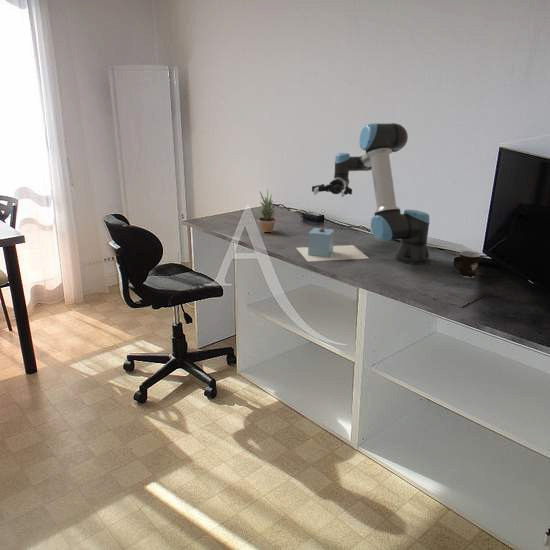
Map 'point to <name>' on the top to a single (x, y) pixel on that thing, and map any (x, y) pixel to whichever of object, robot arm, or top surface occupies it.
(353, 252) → the mat
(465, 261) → the coffee mug
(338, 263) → the top surface
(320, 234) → the box cover
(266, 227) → the potted plant
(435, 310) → the top surface
